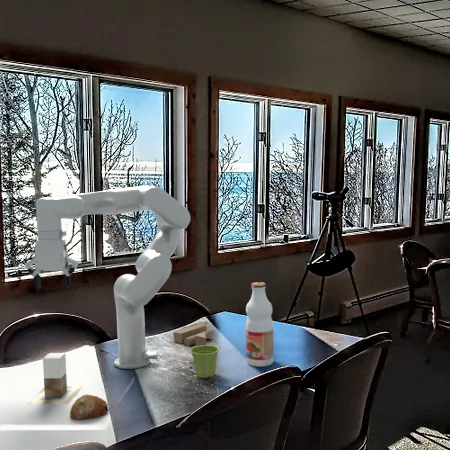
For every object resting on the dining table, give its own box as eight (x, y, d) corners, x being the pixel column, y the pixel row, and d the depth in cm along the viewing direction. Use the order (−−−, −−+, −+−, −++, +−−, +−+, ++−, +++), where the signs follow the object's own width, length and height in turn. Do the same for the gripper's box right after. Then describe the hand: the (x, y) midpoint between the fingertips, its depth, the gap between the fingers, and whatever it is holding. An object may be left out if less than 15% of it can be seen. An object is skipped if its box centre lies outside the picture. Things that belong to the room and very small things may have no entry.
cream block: (66, 372, 175) (65, 353, 175) (60, 378, 170) (59, 358, 170) (50, 372, 175) (49, 353, 175) (43, 378, 171) (42, 358, 170)
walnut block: (67, 391, 176) (66, 372, 175) (61, 398, 171) (60, 378, 170) (51, 391, 176) (49, 372, 175) (44, 398, 171) (43, 378, 170)
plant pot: (213, 381, 185) (212, 354, 184) (186, 378, 188) (185, 352, 187) (223, 371, 193) (223, 346, 193) (197, 369, 197) (197, 344, 196)
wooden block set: (171, 329, 228) (201, 320, 242) (172, 343, 229) (201, 333, 243) (203, 336, 218) (233, 325, 232) (204, 350, 218) (233, 339, 232)
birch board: (83, 390, 180) (83, 386, 180) (68, 408, 166) (68, 404, 166) (45, 390, 181) (45, 386, 181) (27, 408, 167) (27, 404, 167)
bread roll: (81, 422, 165) (67, 398, 164) (113, 405, 165) (100, 381, 165) (75, 438, 155) (61, 413, 154) (109, 420, 156) (95, 395, 155)
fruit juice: (276, 366, 198) (275, 285, 195) (249, 368, 196) (247, 286, 194) (270, 357, 207) (268, 280, 204) (244, 359, 205) (242, 281, 203)
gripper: (79, 233, 191) (82, 285, 192) (28, 235, 191) (31, 286, 193) (72, 236, 183) (75, 289, 185) (19, 237, 184) (22, 290, 186)
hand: (52, 287), depth 189 cm, fingers open, 9 cm apart
